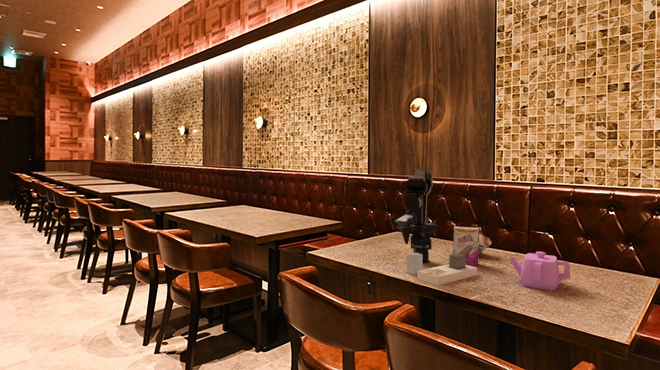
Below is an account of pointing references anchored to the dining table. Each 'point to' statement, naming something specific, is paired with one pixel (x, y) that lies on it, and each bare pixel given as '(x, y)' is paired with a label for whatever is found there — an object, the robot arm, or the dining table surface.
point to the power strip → (445, 274)
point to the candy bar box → (466, 243)
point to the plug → (414, 262)
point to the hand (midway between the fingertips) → (414, 246)
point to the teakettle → (541, 271)
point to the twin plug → (457, 261)
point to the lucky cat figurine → (483, 242)
